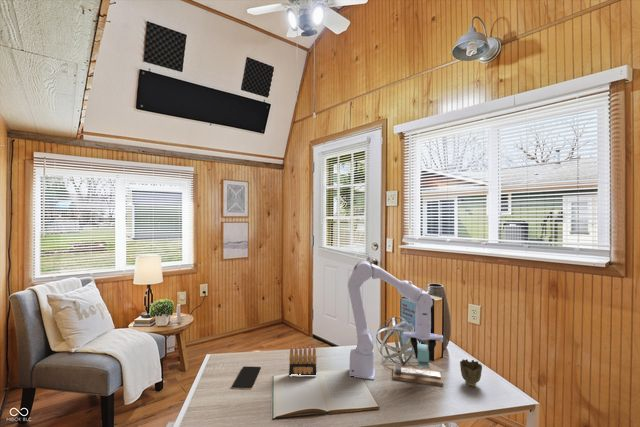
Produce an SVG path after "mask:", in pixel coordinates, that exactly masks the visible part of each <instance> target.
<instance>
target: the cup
mask: <svg viewBox="0 0 640 427" xmlns="http://www.w3.org/2000/svg"><path fill="white" fill-rule="evenodd" d="M459 364H460V365H459V366H460V367H459V368H460V373H461V376H462V379H464V382H465V385H466V386H467V387H470V388H475V387H476V386H477V384H478V383H479V381H480V380H481V377H482V373H483V372H482V370H483V365H482V364H481V363H479V362H478V361H475V360H474V359H472V360H470V361H469V360H468V359H462V360H460V361H459Z"/></svg>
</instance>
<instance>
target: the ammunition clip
mask: <svg viewBox="0 0 640 427" xmlns="http://www.w3.org/2000/svg"><path fill="white" fill-rule="evenodd" d="M294 346H295V347H293V345H291V346H290V350H289V361H288V362H289V369H288V376H289V375H291V374H298V375H299V374H301V375H316V373H317V348H316V345H315V344H314V345H313V348H312V346H311V345H308V350H307V346H306V344H305V345H304V346H303V347H304V348H303V347H302V344H301V345H299V350H298V345H296V344H295V345H294Z"/></svg>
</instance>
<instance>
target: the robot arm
mask: <svg viewBox="0 0 640 427" xmlns="http://www.w3.org/2000/svg"><path fill="white" fill-rule="evenodd" d="M371 278H372V280H376V279H380V280H382V281H383V282H386V283H387V284H389V285H391V286H392V287H394V288H396V289H397V292H398V294H400V295H401V296H403V297H405V298H406V299H408V300H409V301H411V302H413V303H415V310H414V312H415V316H414V318H415V319H414V320H415V321H414V322H415V324H414V330H415V331H403V335H402V336H403V339H410V344H411V346H412V349H413V351H414V356H415V359H417V344H418V340H421V341H428V342H427V345H428V349H429V361H431V357H432V354H433V351H434V349H435V348H436V345H437V342H440V343H444V336H443V334H436V333H431V329H432V312H431V311H432V310H431V308H432V307H433V305H434V301H433V299H432V296H431V295H430V294H429V293H428V292H427V291H426V290H424V289H423V288H421V287H417V286H416V285H414V284H413V281H411V280H406V279H405V280H400V279H398V278H397V277H395V276H394V275H392V274H391V273H389V272H388V271H386V270H385V269H383V268H382V267H380V266H378V265H376V264H375V263H370V262H369V261H368V260H365V259H363V260H359V261H358V262H357V264H355V265H354V266H353V269H352V271H351V274H350V277H349V279H348V282H347V289H348V292H349V300H350V303H351V309H352V313H353V314H352V315H353V319H354V323H355V330H356V347H355V348H352V349H350V352H349V374H348V376H349V377H351V376H354V377H353V378H360V379H365V380H366V379H367V380H374V379H375V377H376V376H375V374H376V368H375V349H374V344H373V334H372V333H371V332H370V330H369V326H368V322H367V317H366V312H365V308H364V301H363V297H362V296H363V295H362V292H361V287H362V285H364V283H365V282H366V281H368V280H370V279H371Z"/></svg>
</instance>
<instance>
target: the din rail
mask: <svg viewBox="0 0 640 427" xmlns="http://www.w3.org/2000/svg"><path fill="white" fill-rule="evenodd" d="M395 365H396V367H395V373H396V374H400V375H401V374H407V375H414V376H422V377H430V378H437V379H441V376H442V374H441V375H440V372H441V371H440V372H434V371H426V370H418V369H410V368H402V367H401V366H402V363H395Z"/></svg>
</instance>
